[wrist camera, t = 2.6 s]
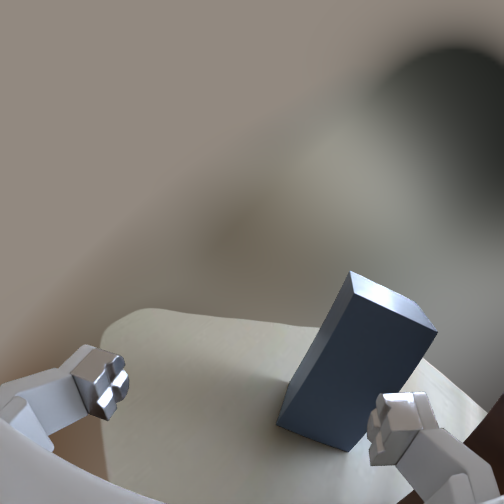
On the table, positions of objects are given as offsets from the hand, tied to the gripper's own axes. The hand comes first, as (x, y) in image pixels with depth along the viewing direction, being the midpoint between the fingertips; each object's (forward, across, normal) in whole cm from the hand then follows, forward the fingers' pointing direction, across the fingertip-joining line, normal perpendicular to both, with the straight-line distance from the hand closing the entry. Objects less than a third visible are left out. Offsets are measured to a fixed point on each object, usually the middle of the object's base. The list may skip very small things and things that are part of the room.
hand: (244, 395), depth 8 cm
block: (+15, -5, +18) cm, 24 cm away
